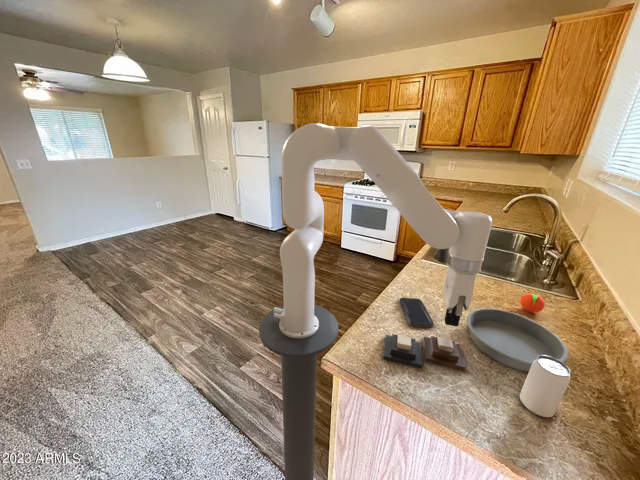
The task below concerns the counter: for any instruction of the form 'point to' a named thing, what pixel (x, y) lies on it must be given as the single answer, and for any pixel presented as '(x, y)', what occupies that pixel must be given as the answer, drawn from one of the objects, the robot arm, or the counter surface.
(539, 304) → the tomato
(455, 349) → the keypad
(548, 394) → the can
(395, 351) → the keypad
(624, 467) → the counter surface
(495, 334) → the cake pan
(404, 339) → the key
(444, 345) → the key
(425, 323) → the phone
